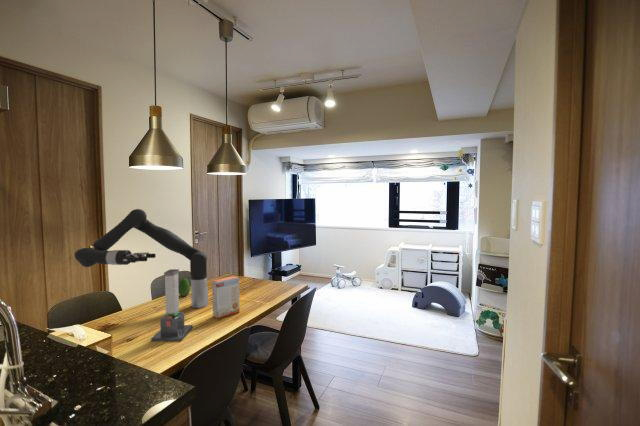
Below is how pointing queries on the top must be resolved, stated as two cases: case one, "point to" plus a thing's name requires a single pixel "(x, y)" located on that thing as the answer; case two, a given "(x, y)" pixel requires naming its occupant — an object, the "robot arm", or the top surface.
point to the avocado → (184, 287)
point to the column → (172, 292)
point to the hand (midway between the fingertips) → (151, 257)
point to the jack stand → (172, 328)
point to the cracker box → (225, 296)
